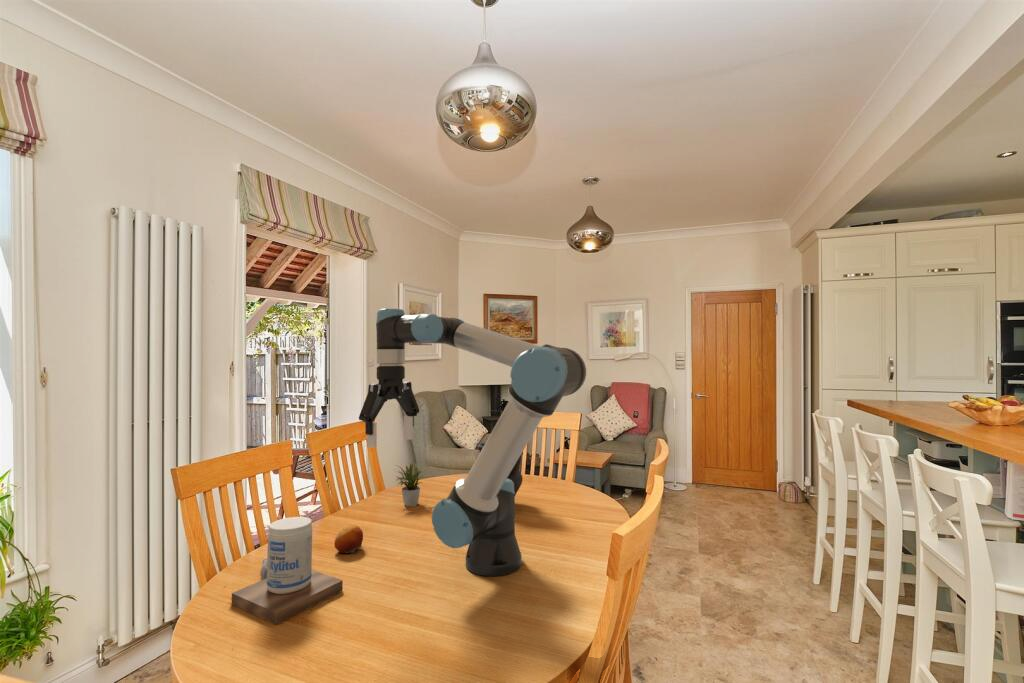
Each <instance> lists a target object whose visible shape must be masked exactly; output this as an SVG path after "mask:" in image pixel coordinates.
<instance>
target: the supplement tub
mask: <svg viewBox="0 0 1024 683" xmlns="http://www.w3.org/2000/svg"><path fill="white" fill-rule="evenodd" d="M312 523H313V521H312V519H311V518H309V517H306V516H290V517H283V518H279V519H278V520H274V521H273V522H272V523H270V524H269V525H268V534H267V555H266V558H267V589H268V590H269V591H270V592H272V593H275V594H287V593H292V592H295V591H299V590H301V589H303V588H305V587H306V586H307V585H308V584H309V583H310V581H311V570H313V569H312V563H313V562H312V560H313V559H312V558H313V554H312V553H313V524H312Z"/></svg>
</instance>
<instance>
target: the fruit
mask: <svg viewBox="0 0 1024 683" xmlns="http://www.w3.org/2000/svg"><path fill="white" fill-rule="evenodd" d="M363 539H364V532H363V530H362V528H361V527H360V526H359V525H349V526H347V527H345V528H342V529H341V530H339V531H337V534H336V537H335V538H334V548H335V549H336V550H337V551H338V552H339V553H341V554H344V553H345V554H349V553H353V554H355V553H356V551H357V549H360V548H361V549H363V546H362V544H363V541H364V540H363Z"/></svg>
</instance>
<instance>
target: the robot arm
mask: <svg viewBox="0 0 1024 683" xmlns="http://www.w3.org/2000/svg"><path fill="white" fill-rule="evenodd" d="M405 313H406V312H405V310H404V309H401V308H379V310H378V311H377V312H376V324H375V326H376V328H375V329H376V364H377V365H378V366H377V367H376V379H377V380H378V383H369V384H368V390H367V395H366V397H365V399H364V402H363V405H362V408H361V410H360V413H359V416H358V420H359V421H362V422H363V423H364V424H365V425H364V426H365V432H364V433H365V435H366V437H367V438H366V447H367V448H374V449H375V448H376V449H377V444H378V443H377V442H378V441H377V437H378V436H377V435H378V433H377V427H378V426H377V425H378V423H377V421H375V420H376V418H377V416H378V415H379V413H380V412H381V410H382V408H383V406H384V404H385V403H386V402H388V400H389V401H391V400H396V401H397V403H398V404H399V406H400V408H401V409H402V411H403V412H404V413H405V414H404V415H403V438H404V440H414V425H415V417H417V416H418V414H419V413H420V408H419V406H418V402H417V400H416V396H415V395H414V391H413V388H412V386H413V385H412V382H411V381H403V380H404V379H405V378H406V368H405V366H404V364H405V363H406V352H405V351H406V350H405V346H406V344H443V345H444V344H445V345H448V346H451V347H454V348H458V349H460V350H463V351H466V352H469V353H472V354H473V355H477V356H480V357H482V358H485V359H489V360H490V361H493V362H497V363H500V364H502V365H505V366H508V367H511V369H510V376H509V377H510V378H511V379H510V380H511V381H510V385H509V386H508V389H507V393H508V396H509V400H508V402H507V403H506V406H505V407H504V410H503V411H502V413H501V414H500V416H499V418H498V420H497V421H496V423H495V426H494V427H493V429H492V431H491V432H490V435H489V436H488V438H487V440H486V441H485V442H486V443H485V445H484V447H483V448H482V450H481V452H480V451H479V454H478V456H477V457H476V459H475V461H474V462H473V465H472V467H471V468H470V469H469V472H468V473H467V476H465V477H460V478H459V479H458V480H457V481H456V482H455V484H454V486H453V487H452V489H451V491H450V493H449V494H448V496H447V497H446V498H443V499H441V500H439V502H437V503H436V504H435V505H434V506H433V509H432V513H431V524H432V526H433V532H435V535H436V536H437V538H438V539H439V540H440V542H441V543H442V544H444V545H445V546H447V547H448V548H451V549H460V548H463V547H465V546H466V547H468V548H467V551H466V555H465V568H466V569H467V570H468V571H469V572H471V573H473V574H476V575H477V576H478V575H479V576H482V577H483V576H485V577H501V576H506V575H510V574H513V573H514V572H516V571H518V570H519V569H520V568H521V567H522V564H523V563H522V562H523V559H522V558H523V557H522V553H521V550H520V547H519V543H518V540H517V537H516V528H515V527H516V523H515V522H516V519H515V518H516V517H515V516H516V513H515V509H516V508H515V507H516V504H515V503H516V502H515V501H516V500H515V497H516V495H515V492H514V483H513V481H512V480H510V479H508V478H507V477H508V476H509V474H510V472H511V471H512V469H513V467H514V465H515V464H516V462H517V460H518V459H519V457H520V455H521V453H523V452H524V450H525V448H526V446H527V444H528V443H529V441H530V440H531V438H532V437H533V435H534V433H535V431H536V429H537V428H538V426H539V425H540V422H541V421H542V419H543V418H546V417H551V416H552V415H553V414H554V413H555V410H556V409H557V407H558V405H559V404H560V402H561V401H562V398H564V397H567V396H570V395H573V394H574V393H576V392H578V391H579V390H580V389H581V388H582V386H584V382H585V380H586V377H587V367H586V363H585V362H584V359H583V358H582V356H581V355H580V354H579V353H578V352H576V351H575V350H572V349H570V348H568V347H567V348H566V347H559V346H553V345H550V344H548V343H545V344H543V345H541V346H540V345H537V344H534V343H531V342H528V341H524V340H523V339H518V338H516V337H512V336H509V335H506V334H502V333H499V332H496V331H493V330H490V329H487V328H484V327H480V326H477V325H474V324H471V323H468V322H465V321H464V320H463V319H459V318H456V317H443V316H438V315H437V314H435V313H420V314H411V315H410V314H409V315H408V314H407V315H405Z"/></svg>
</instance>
